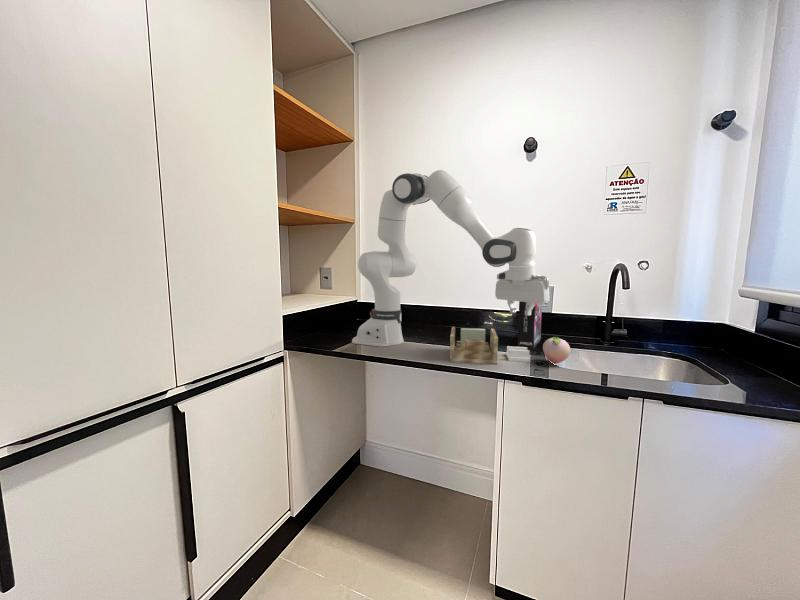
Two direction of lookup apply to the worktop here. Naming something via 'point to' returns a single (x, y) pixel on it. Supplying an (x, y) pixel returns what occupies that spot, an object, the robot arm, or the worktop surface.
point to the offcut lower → (472, 354)
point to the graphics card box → (529, 325)
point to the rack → (487, 355)
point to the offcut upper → (474, 345)
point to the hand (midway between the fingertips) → (520, 314)
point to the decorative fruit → (556, 349)
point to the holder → (518, 354)
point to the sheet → (472, 334)
